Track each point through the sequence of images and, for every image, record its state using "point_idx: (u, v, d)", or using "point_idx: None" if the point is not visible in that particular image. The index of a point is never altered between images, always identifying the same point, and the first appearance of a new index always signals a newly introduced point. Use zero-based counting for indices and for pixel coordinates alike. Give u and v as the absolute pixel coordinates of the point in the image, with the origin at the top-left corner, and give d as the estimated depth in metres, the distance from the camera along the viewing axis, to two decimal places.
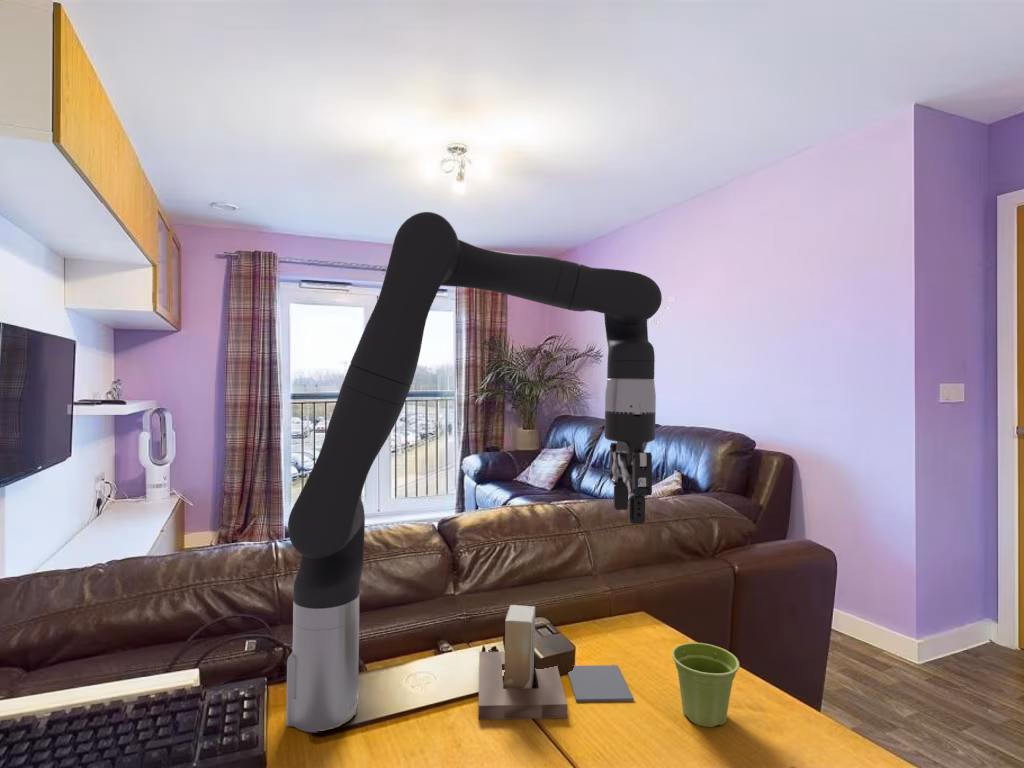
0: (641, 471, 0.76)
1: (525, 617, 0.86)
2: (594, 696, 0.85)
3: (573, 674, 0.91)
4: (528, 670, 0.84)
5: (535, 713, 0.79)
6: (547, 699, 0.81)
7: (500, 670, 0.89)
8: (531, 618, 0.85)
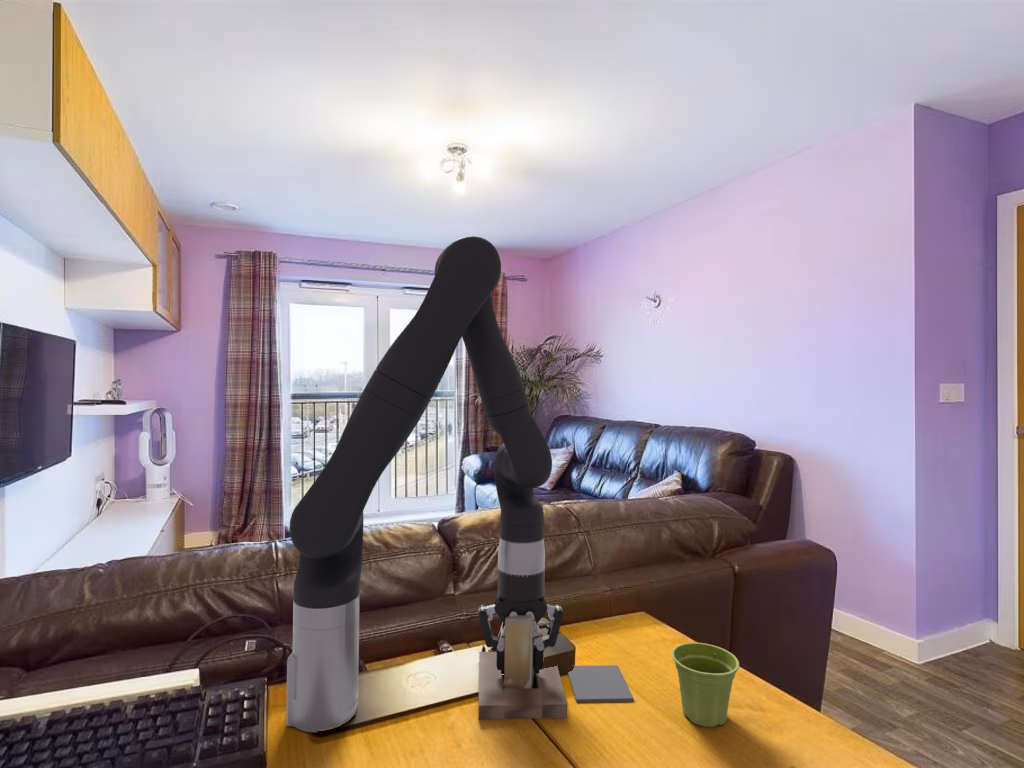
0: None
1: (525, 617, 0.86)
2: (594, 696, 0.85)
3: (573, 674, 0.91)
4: (528, 670, 0.84)
5: (535, 713, 0.79)
6: (547, 699, 0.81)
7: (500, 670, 0.89)
8: (531, 618, 0.85)
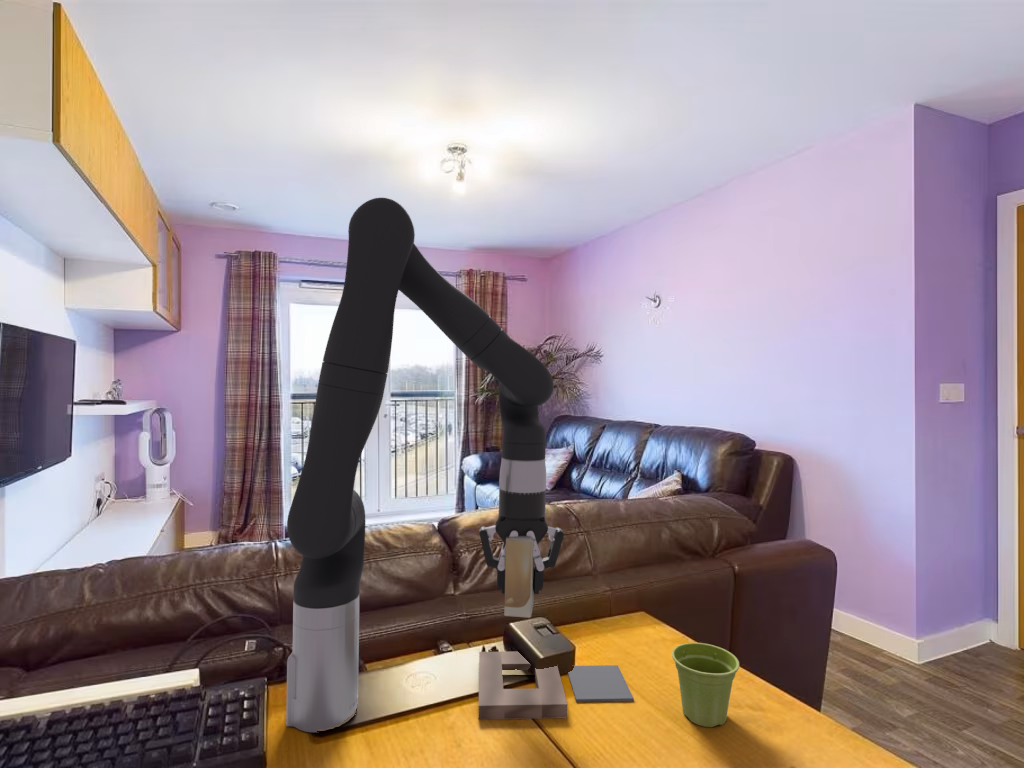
0: None
1: (525, 537, 0.86)
2: (594, 696, 0.85)
3: (573, 674, 0.91)
4: (529, 588, 0.84)
5: (535, 713, 0.79)
6: (547, 699, 0.81)
7: (500, 670, 0.89)
8: (531, 538, 0.86)
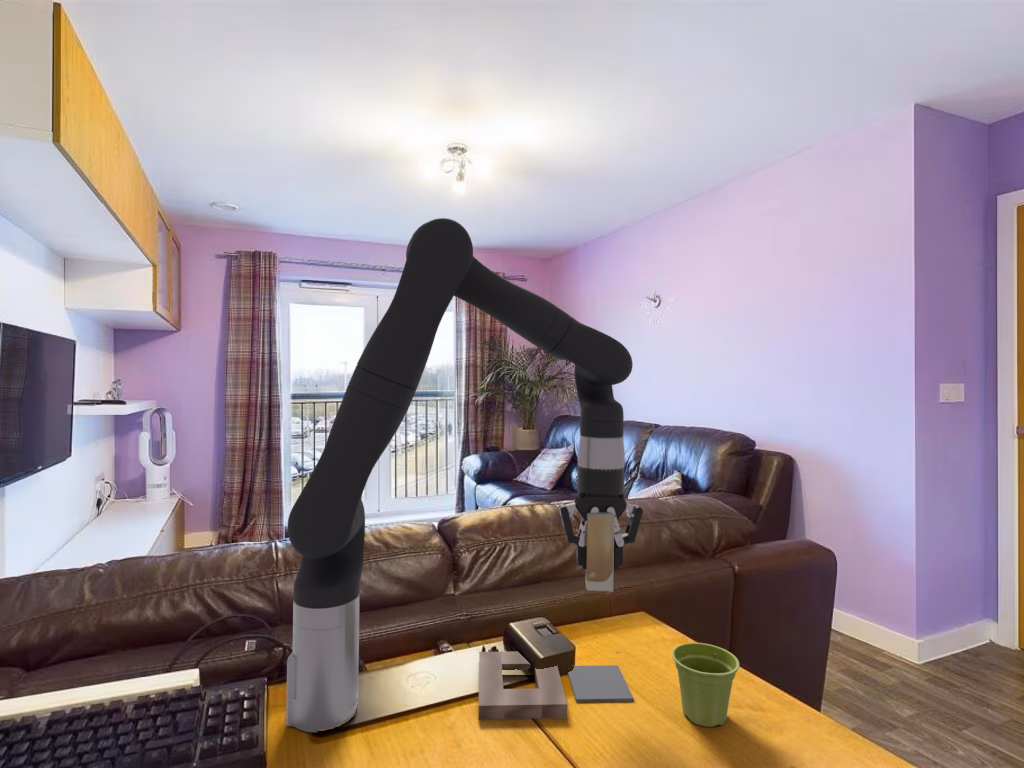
0: None
1: (605, 513, 0.87)
2: (594, 696, 0.85)
3: (573, 674, 0.91)
4: (611, 563, 0.86)
5: (535, 713, 0.79)
6: (547, 699, 0.81)
7: (500, 670, 0.89)
8: None
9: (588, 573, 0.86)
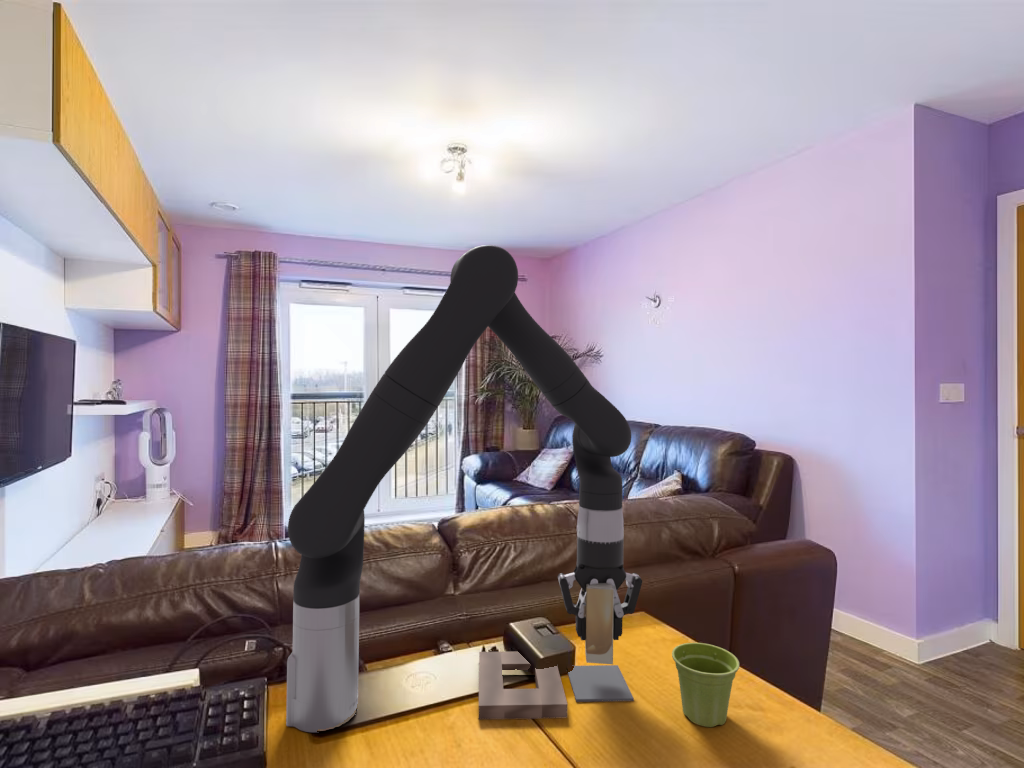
0: None
1: (605, 584, 0.87)
2: (594, 696, 0.85)
3: (573, 674, 0.91)
4: (611, 635, 0.86)
5: (535, 713, 0.79)
6: (547, 699, 0.81)
7: (500, 670, 0.89)
8: (611, 585, 0.87)
9: (588, 645, 0.86)
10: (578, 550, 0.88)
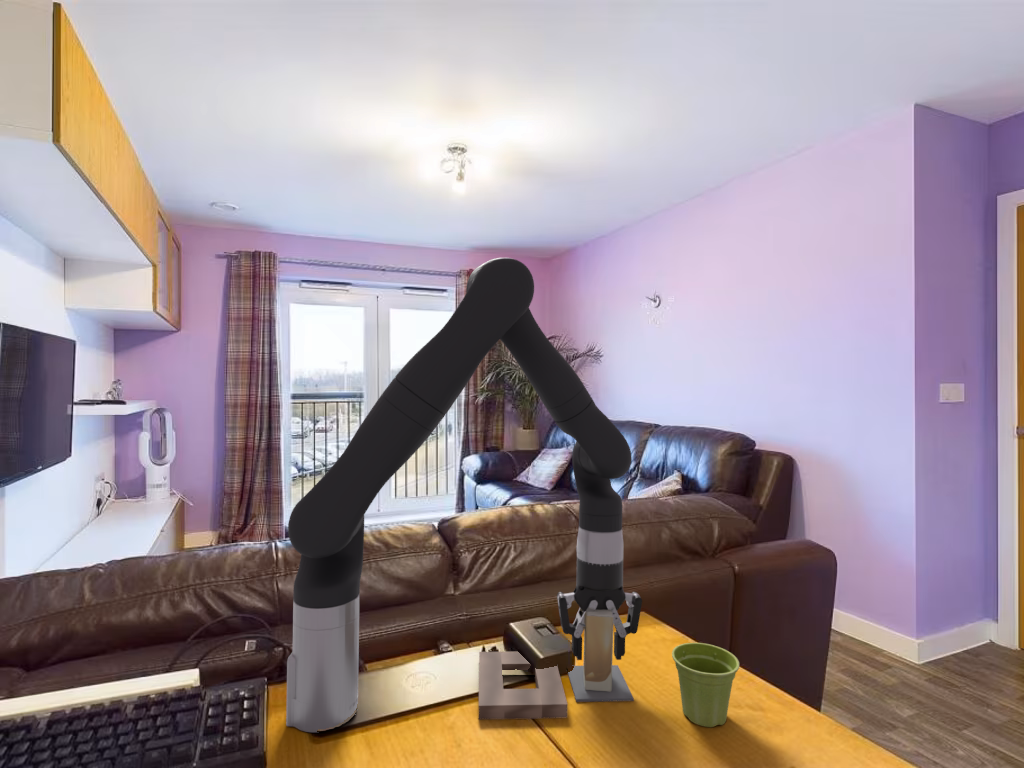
0: None
1: (604, 611, 0.87)
2: (594, 696, 0.85)
3: (573, 674, 0.91)
4: (610, 663, 0.86)
5: (535, 713, 0.79)
6: (547, 699, 0.81)
7: (500, 670, 0.89)
8: (611, 612, 0.87)
9: (587, 673, 0.86)
10: (578, 571, 0.88)
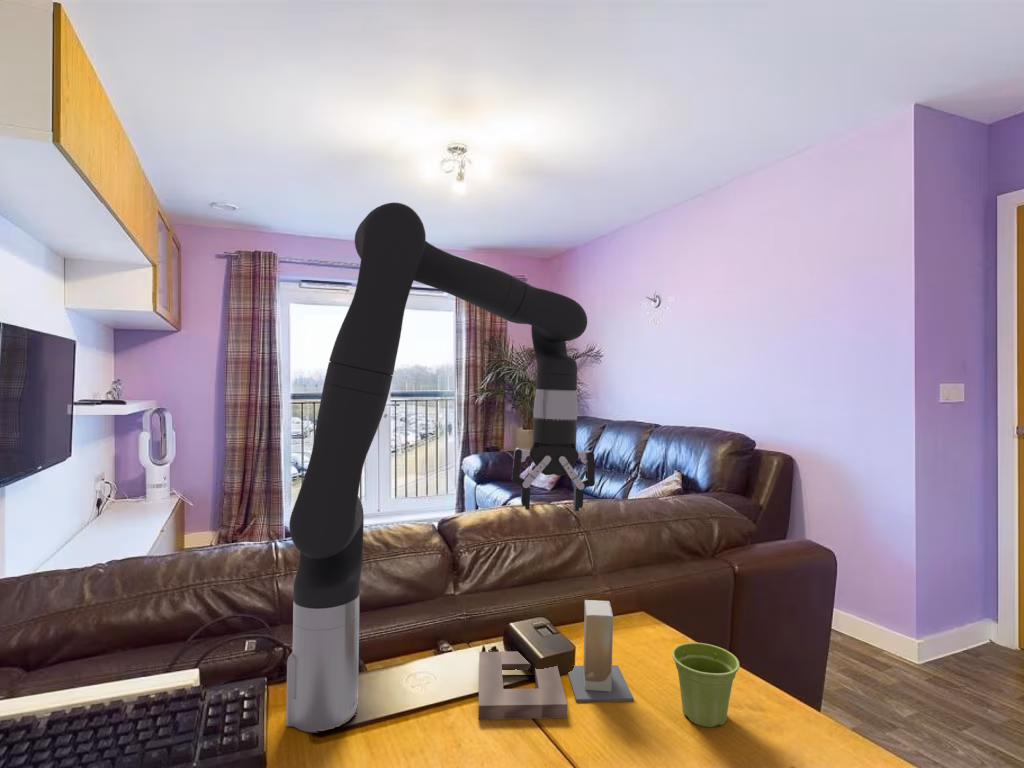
0: None
1: (604, 611, 0.87)
2: (594, 696, 0.85)
3: (573, 674, 0.91)
4: (610, 663, 0.86)
5: (535, 713, 0.79)
6: (547, 699, 0.81)
7: (500, 670, 0.89)
8: (610, 612, 0.87)
9: (586, 673, 0.86)
10: (533, 430, 0.93)
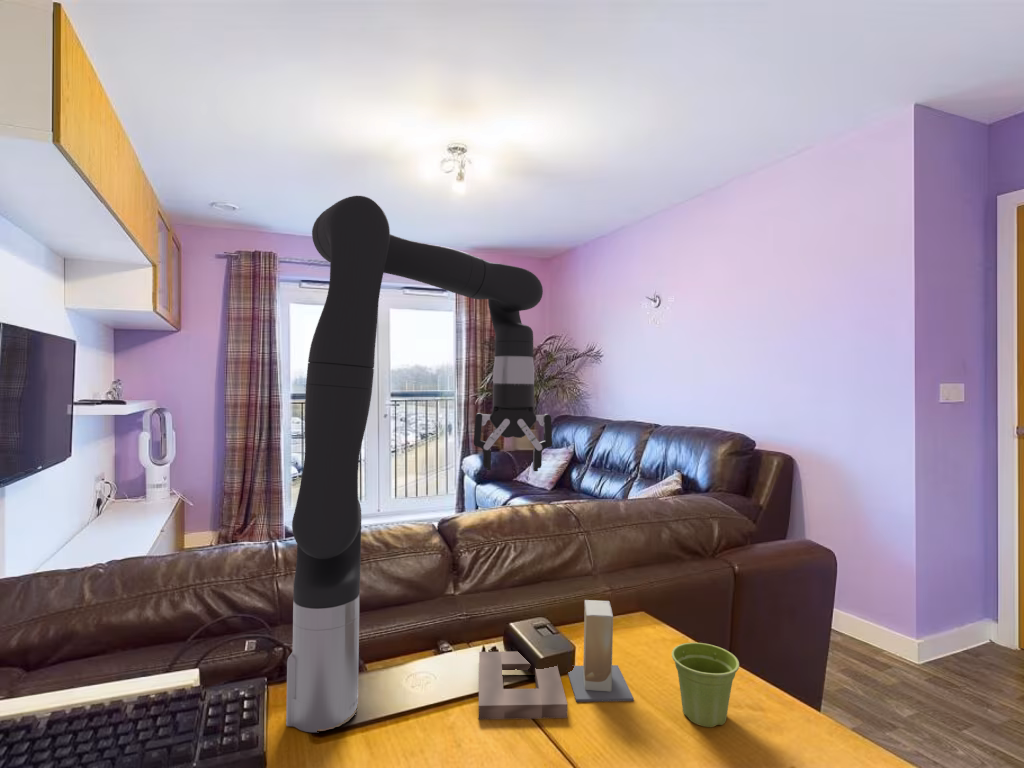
0: None
1: (604, 611, 0.87)
2: (594, 696, 0.85)
3: (573, 674, 0.91)
4: (610, 663, 0.86)
5: (535, 713, 0.79)
6: (547, 699, 0.81)
7: (500, 670, 0.89)
8: (610, 612, 0.87)
9: (586, 673, 0.86)
10: (493, 395, 0.99)
